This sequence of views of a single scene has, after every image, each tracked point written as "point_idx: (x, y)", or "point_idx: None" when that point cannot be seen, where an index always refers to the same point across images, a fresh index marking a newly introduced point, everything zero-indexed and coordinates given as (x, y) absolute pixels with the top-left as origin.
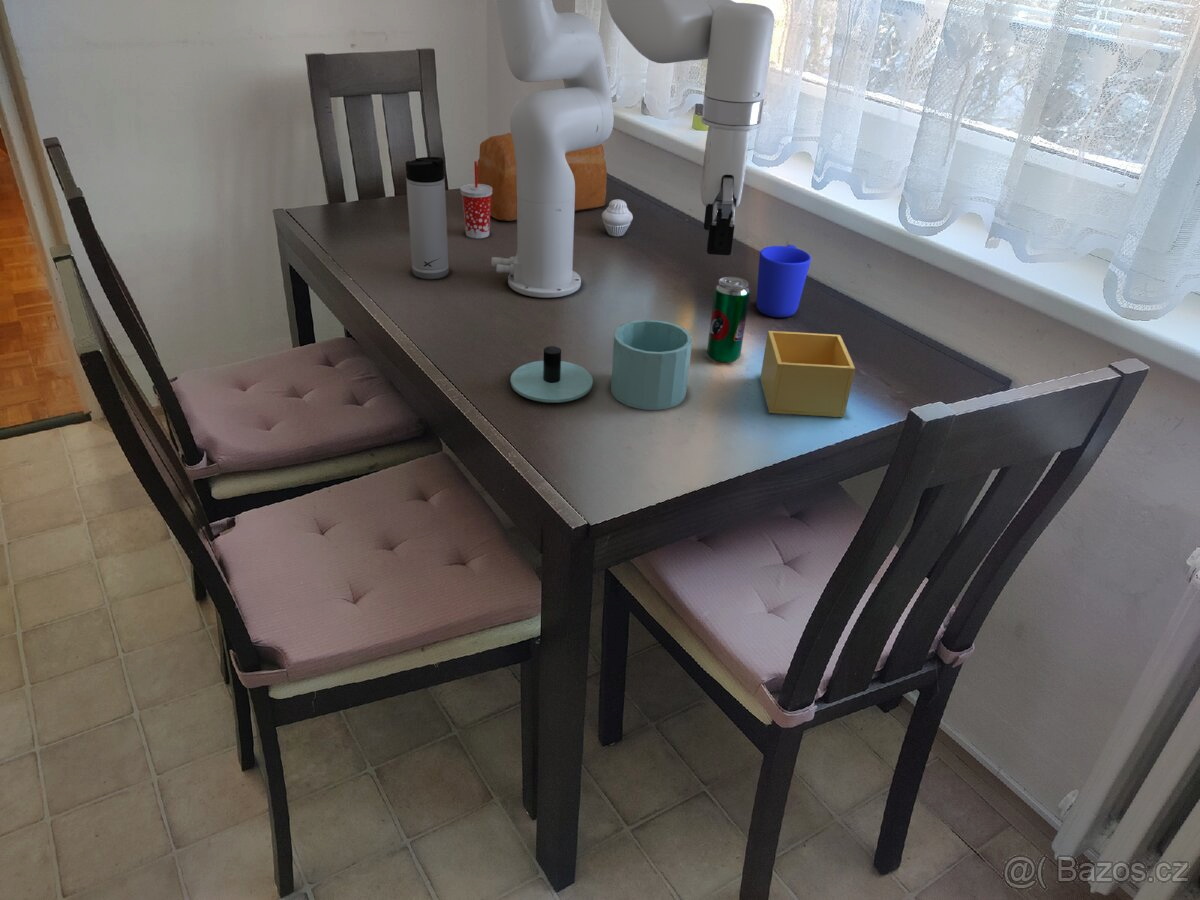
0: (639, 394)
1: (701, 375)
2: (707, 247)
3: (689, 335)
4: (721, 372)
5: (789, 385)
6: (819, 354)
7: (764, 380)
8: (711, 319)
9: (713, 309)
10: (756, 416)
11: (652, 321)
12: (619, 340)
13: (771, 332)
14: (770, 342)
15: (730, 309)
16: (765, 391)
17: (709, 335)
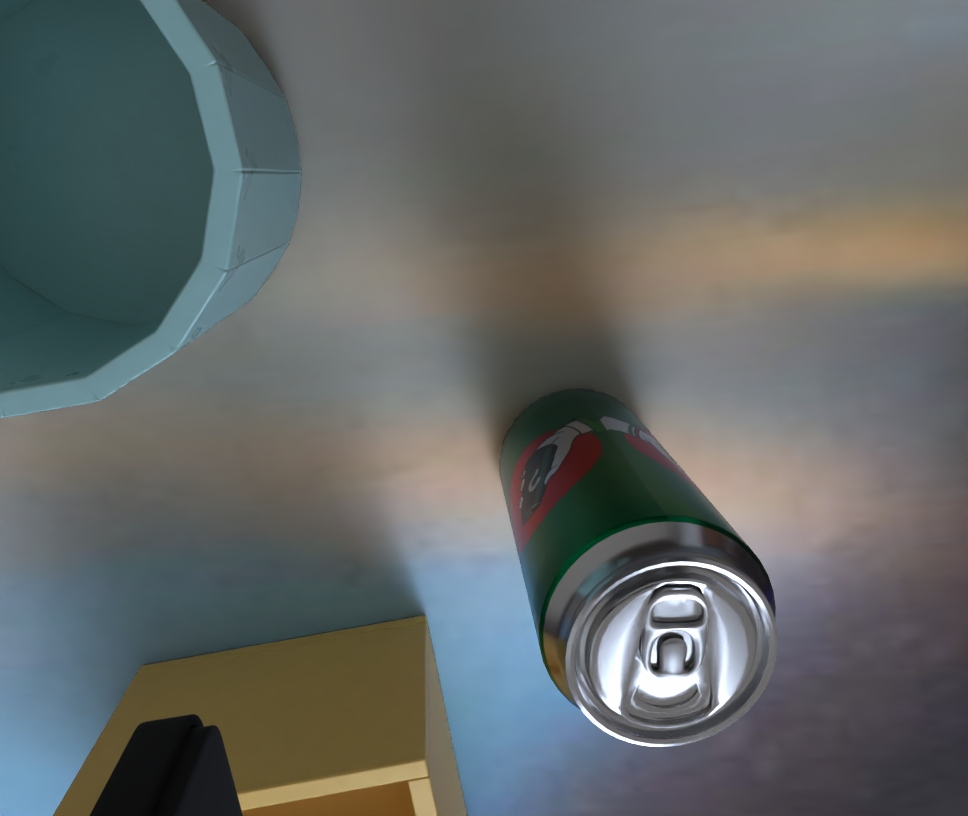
0: None
1: (368, 384)
2: (118, 766)
3: (84, 392)
4: (424, 463)
5: None
6: None
7: (327, 652)
8: (587, 446)
9: (588, 474)
10: (96, 624)
11: (202, 122)
12: None
13: (406, 775)
14: (312, 770)
15: (528, 589)
16: (272, 651)
17: (567, 419)
